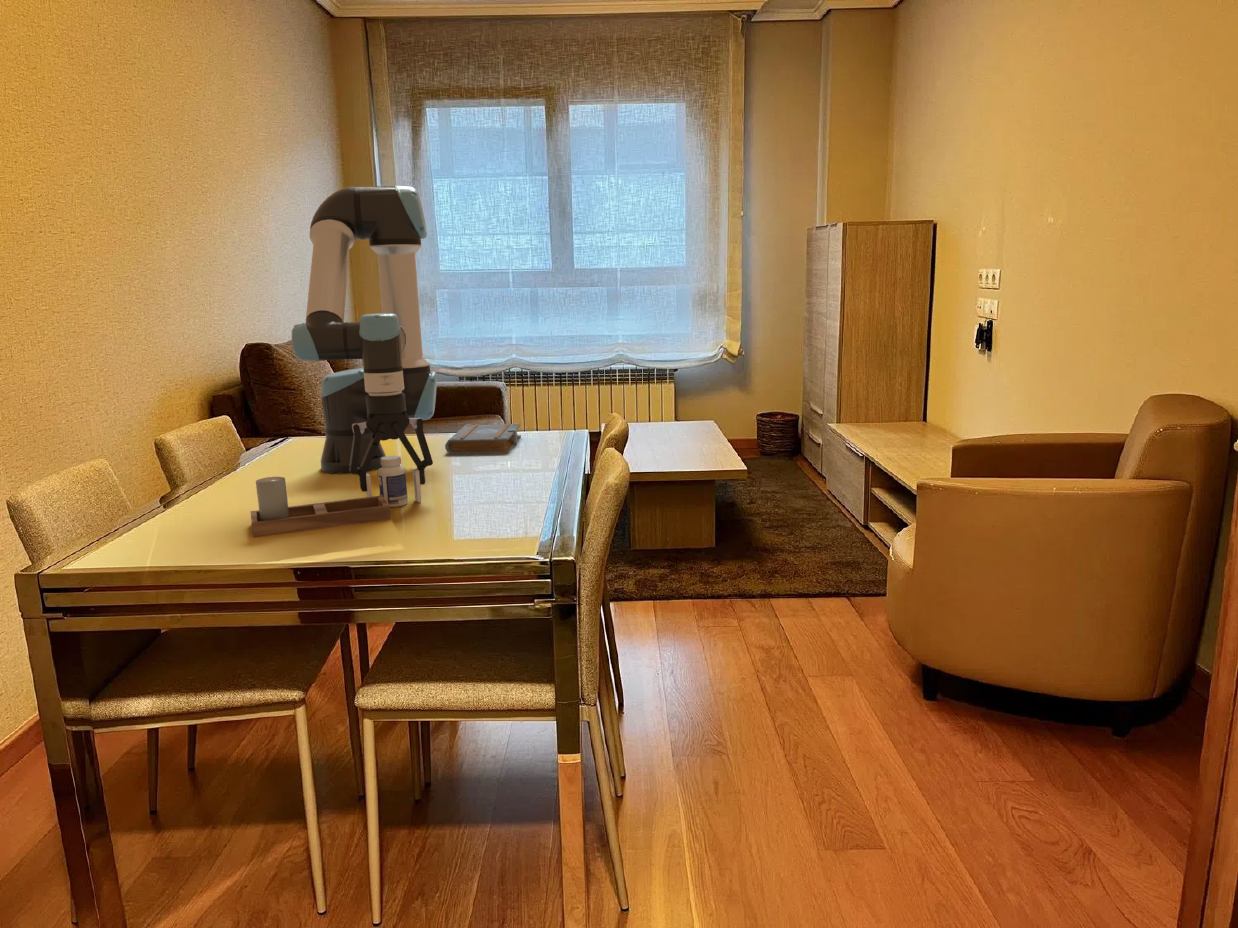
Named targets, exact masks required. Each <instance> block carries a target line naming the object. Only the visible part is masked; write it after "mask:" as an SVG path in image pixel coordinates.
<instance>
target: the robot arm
mask: <svg viewBox="0 0 1238 928" xmlns="http://www.w3.org/2000/svg"><path fill="white" fill-rule="evenodd" d="M426 225H427V224H426V220H425V215H424V210H423V206H422V201H421V198H420V195H419V192H418V191H417V189H416V188H415V187H413V186H409V185H408V186H405V185H396V184H395V185H384V186H382V185H381V186H347V187H343V188H341V189H338V190H336V191H335V192H333V193H331V195H329V196H327V197H326V199H325V200H323V202H322V203H321V204H320V205H319V206H318V208H317V210H316V211H315V212H314V214H313V217H312V219H311V223H310V228H309V239H310V241H311V243H312V245H313V246H312V254H311V255H312V256H311V263H310V265H311V266H310V275H309V276H310V277H309V283H308V284H309V285H308V295H307V303H306V304H307V305H306V315H305V322H301V323H298V324H294V325H293V328H292V330H291V345H292V350H293V353H294V356H295V358H296V359H298V361H304V362H305V361H306V362H307V361H308V362H321V361H323V362H324V361H339V360H340V361H341V360H362V365H363V367H359V368H352V369H347V370H342V371H337V372H333V373H329V374H327V375H325V376H324V377H323V378H322V379H321V381H320V386H321V387H320V388H321V393H320V394H321V395H320V398H321V400H322V403H321V404H322V412H323V421H324V431H325V441H324V444H323V449H322V454H321V458H320V467H321V468H320V469H321V471H323V472H324V473H329V474H352V475H356V476H358V478H359V487H360V490H361V492H365V494H366V497H373V492H372V491H373V490H372V483H371V482H372V481H371V475H370V474H369V472H370V471H371V472H372V471H376V470H379V469H380V468H382V466H381V464H380V458H382V457H385V456H387V455H386V453H385V451H384V448H383V445H382V444H381V441H382V442H384V441H387V440H398V439H399V441H400V442H401V444H402V445H403V447H404V448H405V450H406V452H407V453H408V455H409V456H410V458H411V459H412V461H413V463H414V464H415V466H416V467H413V468H412V475H413V485H414V487H413V488H414V499H415V501H416V502H417V503H422V490H421V486H422V485H423V486H424V485H425V483H426V476H425V475H426V474H425V469H426V468H428V467H430V466H433V463H434V461H433V459H432V458H433V457H432V455H431V452H430V448H429V445H428V441H427V440H426V438H427V437H426V436H425V431H424V421H427V420H430V419H431V418H433V416H434V413H435V408H436V399H437V384H438V381H437V380H438V379H437V377H438V374H437V373H438V372H437V371H435V370H431V364H430V362H429V361H427V360H426V359H425V358H424V356H423V355H424V354H423V343H422V329H421V327H422V326H421V316H420V305H419V304H420V301H419V292H418V290H419V288H418V274H417V263H416V262H417V261H416V253H417V252H418V251H419V250H420V249H421V247H422V239H426V238H427V237H428V234H427V233H428V232H427V227H426ZM355 240H361V241H362V240H368V243H369V248H370V249H371V250H372V251H373V252H374V253H375V254H376V256H377V268H378V280H379V281H378V282H379V292H380V293H379V295H380V306H381V312H380V313H379V312H378V313H366V314H362V315H361V316H359V317H360V318H359V319H358V320H359V321H355V322H353V321H351V322H349V321H348V322H346V321H345V310H346V300H347V299H346V298H347V285H348V268H349V255H350V250H351V249H352V248H353V246H354V244H355ZM408 425H411V428H412V429H414V431H415V434H416V435H415V436H416V438H417V441H418V444H419V447H420V450H421V451H420V452H421V454H422V457H423V460H421V458H420V457H419V455H418V453H417V452H416V451H415V449H414V446H413V445H412V444H411V442H410V441H409V439H408V437H407V435H406V434H405V431H406V429H407V428H408Z"/></svg>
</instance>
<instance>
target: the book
mask: <svg viewBox="0 0 1238 928" xmlns="http://www.w3.org/2000/svg"><path fill="white" fill-rule="evenodd" d="M520 426H521V423H509V422H508V423H501V424H500V423H499V424H498V423H496V424H489V423H488V424H479V423H475V424H465V425H463V427H461V428H460V429H459V430H458V431H457V432H456V433H455V434H453V435H452V436H451V437H450V438H448V439H447V441H446V443H445V444H444V446H445V447H444V448H445V451H446V452H447V453H448V455H478V454H479V455H485V454H486V455H487V454H509V453H511V451H512V450H513V448H514V447H515V446H517V445H518V442H519V440H520V439H521V438H522V435H521V434H518V429H519V428H520Z"/></svg>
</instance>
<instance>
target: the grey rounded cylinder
mask: <svg viewBox="0 0 1238 928" xmlns="http://www.w3.org/2000/svg"><path fill="white" fill-rule="evenodd" d="M255 485H256V486H255V488H256V494H257V495H256V497H257V504H258V510H259V513H260V521H265V520H273V519H281V518H289V509H288V507H289V502H288V501H289V500H288V493H287V484H286V478H285V477H283V476H268V477H263V478H259V479H256V480H255Z"/></svg>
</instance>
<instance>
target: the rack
mask: <svg viewBox="0 0 1238 928" xmlns="http://www.w3.org/2000/svg"><path fill="white" fill-rule="evenodd" d="M288 509H289V518H281V519H273V520H265V521H260V513H259V509H258V510H251V511H250V520H251V521H250V522H251V529H252V537H253V538H259V537H267V536H274V535H275V536H276V535H283V534H290V533H291V534H292V533H298V532H305V531H312V530H320V529H328V528H329V529H330V528H335V527H342V526H350V525H358V524H367V523H374V522H381V521H387V520H388V521H389V520H391V518H392V517H391V507H390V506H389V505H388V503H387V502H386V500H385V499H384V497H383V496H382V495H381V496H380V495H374V496H373V495H372V497H367V496H366V497H358V498H351V499H350V498H349V499H341V500H335V501H325V502H318V503H316V502H315V503H309V504H300V505H291V506H288Z"/></svg>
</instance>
